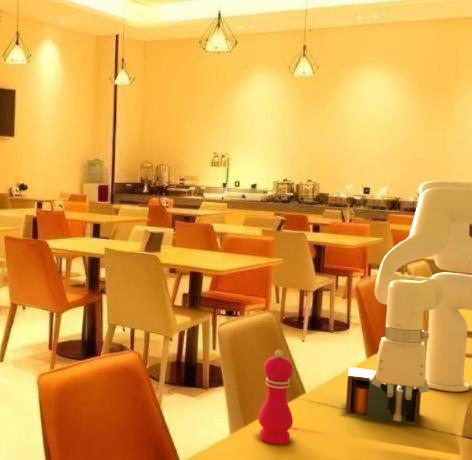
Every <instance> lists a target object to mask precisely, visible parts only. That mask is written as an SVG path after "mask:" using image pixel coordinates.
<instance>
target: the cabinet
mask: <svg viewBox="0 0 472 460" xmlns="http://www.w3.org/2000/svg"><path fill="white" fill-rule="evenodd" d="M375 373H376V370H375V369H367V368H358V367H349V370H348V374H347V383H346V384H347V385H346V400H345V402H346V403H345V413H348V414H352V415H359V416H360V415H361V416H366V417H367V414H363V413H358V412H355V411H353V401H354V386H355V385H367V386H369V380H370V379H372V378H373V377H374V375H375ZM413 388H414V387H412V389H413ZM421 398H422V393H418V394H417V395H415V396H414V397H412V398H411V399H410V402H409V413H406V415H405V423H406V422H407V423H412V424H420V413H421V411H420V410H421Z"/></svg>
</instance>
